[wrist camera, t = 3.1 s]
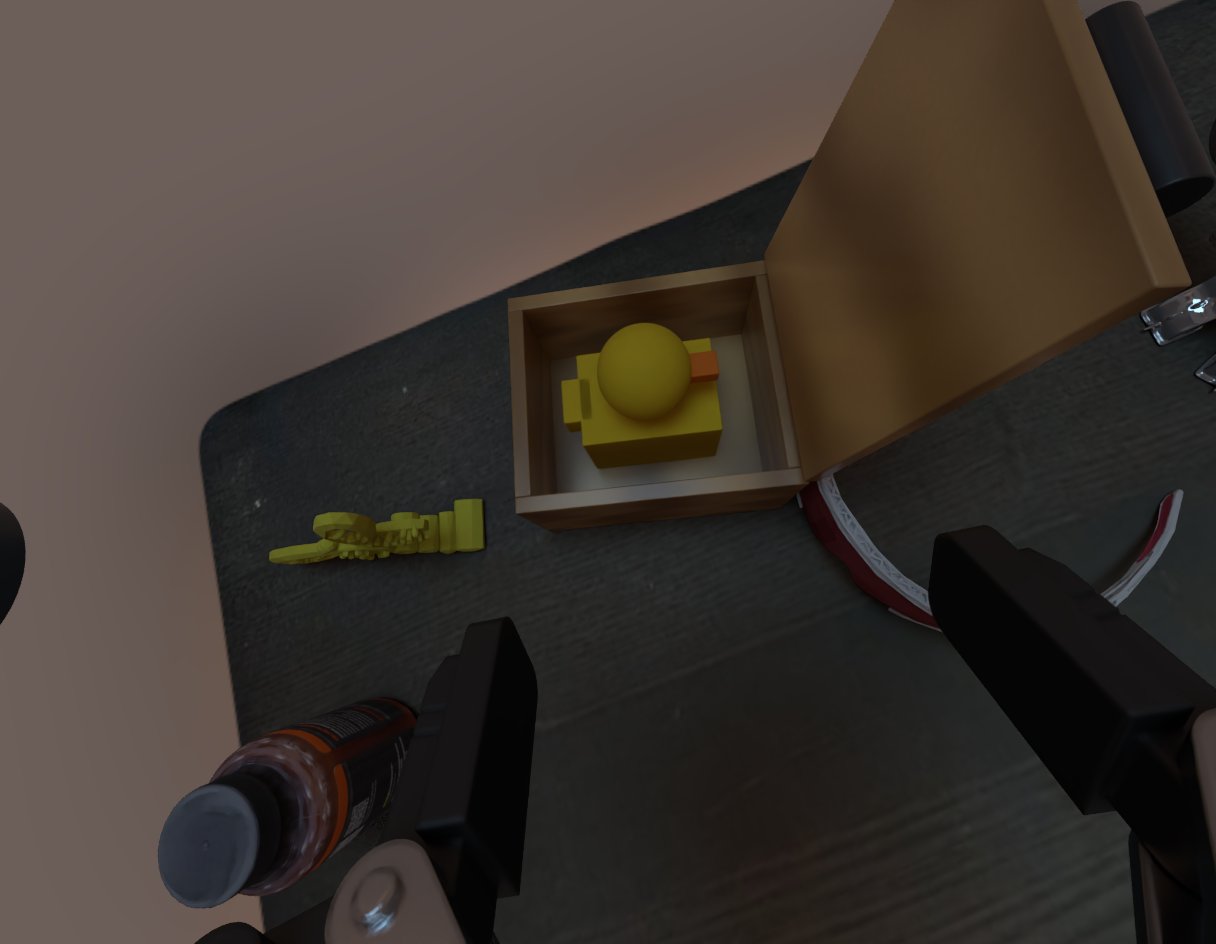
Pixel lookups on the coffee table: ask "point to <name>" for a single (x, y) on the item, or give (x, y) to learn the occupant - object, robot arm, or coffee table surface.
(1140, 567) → the sunglasses
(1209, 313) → the robot toy
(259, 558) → the coffee table surface
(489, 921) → the robot arm
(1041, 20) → the lid
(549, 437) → the chest
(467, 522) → the decorative insect
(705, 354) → the duck
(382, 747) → the supplement bottle
